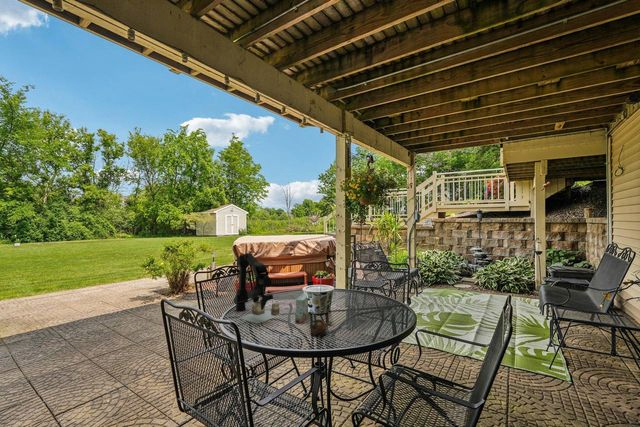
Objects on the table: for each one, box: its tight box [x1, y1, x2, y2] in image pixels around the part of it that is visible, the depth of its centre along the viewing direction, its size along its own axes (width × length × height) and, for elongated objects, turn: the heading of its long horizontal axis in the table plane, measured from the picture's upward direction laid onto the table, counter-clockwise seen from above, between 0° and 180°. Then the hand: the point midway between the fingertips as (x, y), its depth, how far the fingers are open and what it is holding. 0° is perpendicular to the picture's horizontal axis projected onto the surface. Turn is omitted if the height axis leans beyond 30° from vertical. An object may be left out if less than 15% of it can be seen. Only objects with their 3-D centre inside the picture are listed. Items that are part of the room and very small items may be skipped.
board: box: [238, 309, 282, 324], centre depth 195 cm, size 18×22×1 cm
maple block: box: [253, 300, 266, 312], centre depth 186 cm, size 5×5×5 cm
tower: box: [270, 302, 280, 317], centre depth 198 cm, size 4×4×8 cm
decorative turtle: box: [309, 318, 328, 337], centre depth 168 cm, size 10×15×8 cm, turn 17°
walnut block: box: [251, 304, 266, 315], centre depth 200 cm, size 6×6×6 cm
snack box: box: [294, 292, 310, 324], centre depth 194 cm, size 21×6×15 cm, turn 168°
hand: (259, 308), depth 186 cm, fingers closed on maple block, 5 cm apart
